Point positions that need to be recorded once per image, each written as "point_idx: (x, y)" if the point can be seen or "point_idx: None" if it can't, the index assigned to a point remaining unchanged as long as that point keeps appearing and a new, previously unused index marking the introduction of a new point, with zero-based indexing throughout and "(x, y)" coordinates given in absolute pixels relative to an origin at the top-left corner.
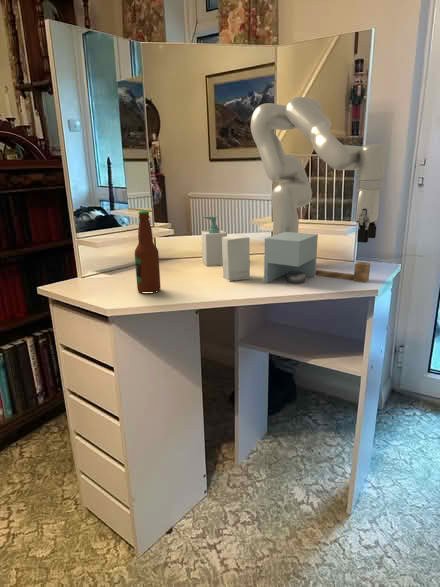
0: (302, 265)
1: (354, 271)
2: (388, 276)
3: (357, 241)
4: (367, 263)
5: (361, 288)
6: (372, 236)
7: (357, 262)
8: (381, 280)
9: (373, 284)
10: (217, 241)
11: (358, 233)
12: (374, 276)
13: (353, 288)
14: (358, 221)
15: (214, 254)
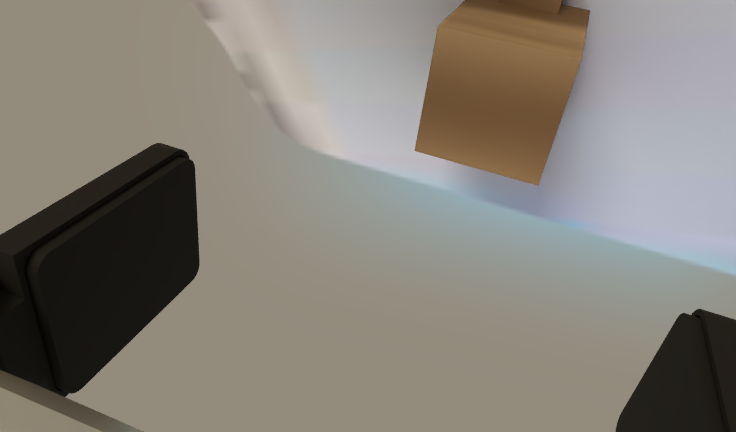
0: None
1: (457, 9)
2: (726, 271)
3: (162, 144)
4: (499, 156)
5: (294, 62)
6: (632, 418)
7: (524, 51)
8: (567, 206)
9: None
10: None
11: (59, 215)
12: (710, 166)
13: (270, 7)
14: (12, 408)
15: None
